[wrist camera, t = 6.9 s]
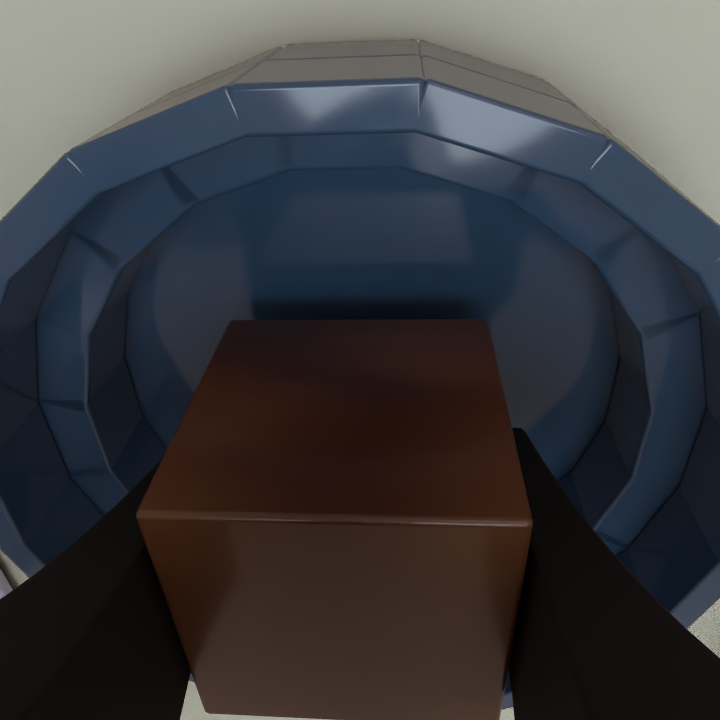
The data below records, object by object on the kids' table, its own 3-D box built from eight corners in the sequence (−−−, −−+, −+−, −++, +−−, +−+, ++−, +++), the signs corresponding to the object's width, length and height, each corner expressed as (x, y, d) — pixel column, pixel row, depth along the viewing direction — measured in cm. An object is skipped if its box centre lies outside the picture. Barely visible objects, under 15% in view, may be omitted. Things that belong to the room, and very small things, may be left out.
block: (262, 498, 15) (204, 715, 10) (229, 317, 12) (131, 514, 8) (472, 503, 14) (499, 729, 10) (488, 317, 11) (535, 523, 7)
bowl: (148, 557, 19) (85, 705, 15) (-32, 52, 11) (-256, 100, 7) (615, 570, 18) (671, 732, 14) (781, 20, 10) (1005, 57, 6)
